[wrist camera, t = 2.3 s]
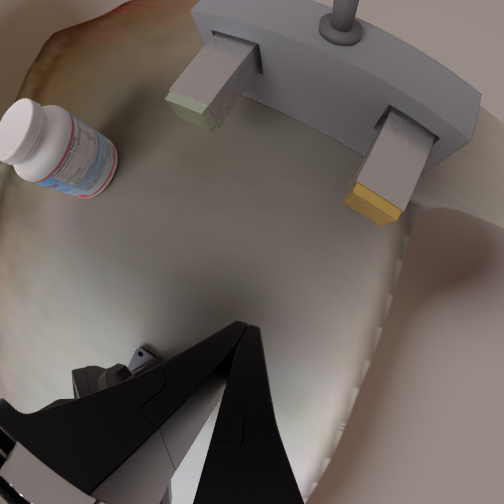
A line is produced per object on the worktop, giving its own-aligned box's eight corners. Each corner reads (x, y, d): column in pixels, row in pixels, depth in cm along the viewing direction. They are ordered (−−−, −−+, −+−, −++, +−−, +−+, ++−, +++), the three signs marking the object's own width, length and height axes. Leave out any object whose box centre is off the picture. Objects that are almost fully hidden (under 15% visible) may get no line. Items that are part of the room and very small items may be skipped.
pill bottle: (62, 178, 25) (-20, 147, 14) (97, 128, 25) (23, 78, 14) (93, 212, 24) (1, 188, 13) (132, 158, 24) (52, 104, 13)
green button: (214, 134, 18) (202, 114, 15) (178, 118, 19) (162, 97, 16) (271, 55, 18) (269, 29, 15) (236, 43, 18) (230, 18, 15)
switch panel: (406, 183, 22) (508, 114, 8) (220, 86, 24) (173, -28, 10) (422, 147, 22) (511, 66, 8) (243, 56, 23) (215, -58, 10)
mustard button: (381, 227, 17) (399, 221, 14) (340, 201, 17) (351, 190, 14) (423, 134, 17) (442, 116, 14) (387, 110, 17) (400, 89, 14)
